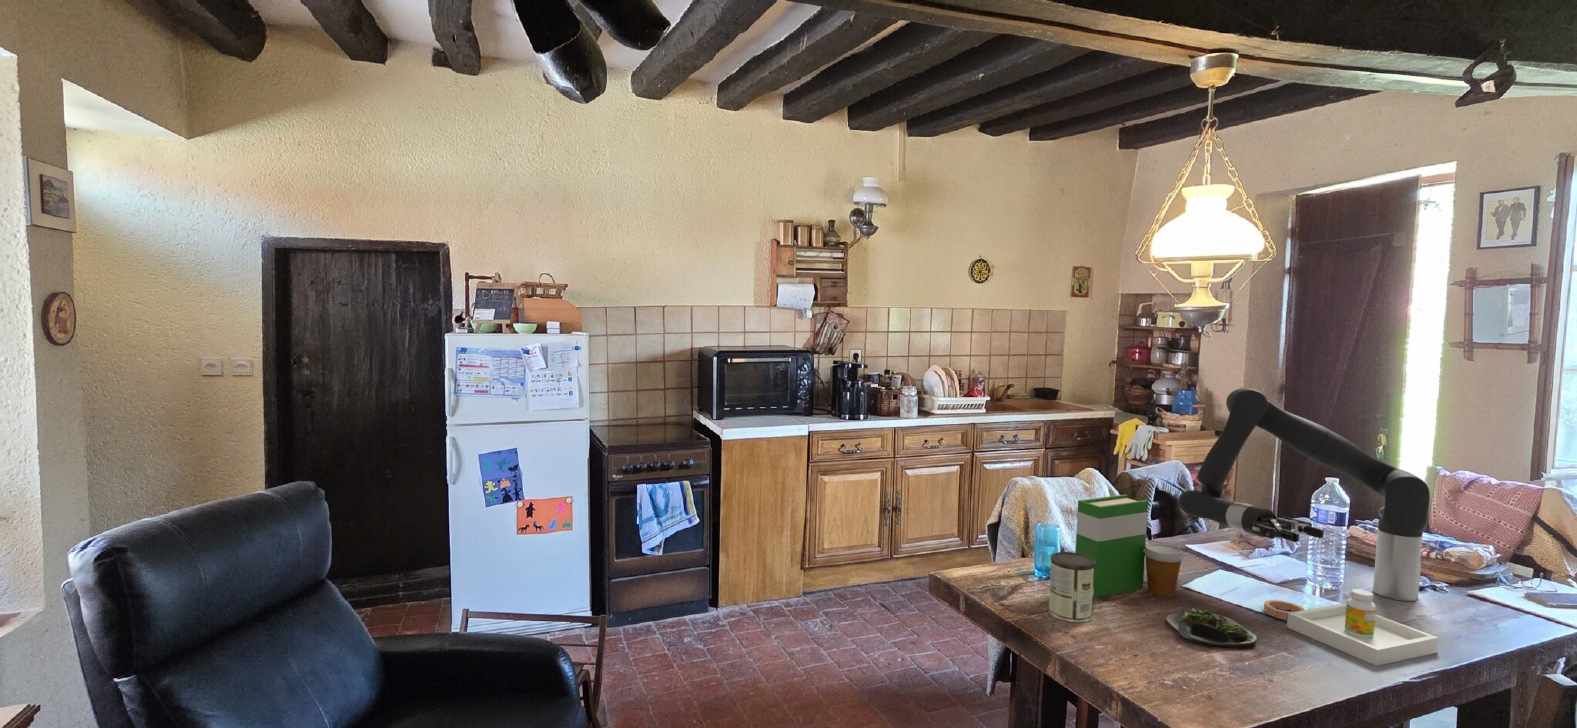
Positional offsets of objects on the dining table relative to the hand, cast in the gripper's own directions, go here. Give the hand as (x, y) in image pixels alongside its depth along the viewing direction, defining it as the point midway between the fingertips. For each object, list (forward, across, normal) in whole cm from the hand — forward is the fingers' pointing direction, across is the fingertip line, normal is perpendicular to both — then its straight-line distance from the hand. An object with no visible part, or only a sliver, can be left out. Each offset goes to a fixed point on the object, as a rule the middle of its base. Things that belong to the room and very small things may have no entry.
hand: (1310, 536), depth 186 cm
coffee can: (-19, -57, +19) cm, 63 cm away
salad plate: (0, -33, +20) cm, 39 cm away
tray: (+14, -2, +20) cm, 24 cm away
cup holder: (-2, -5, +20) cm, 21 cm away
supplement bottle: (+14, -2, +19) cm, 23 cm away
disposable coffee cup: (-22, -24, +19) cm, 38 cm away
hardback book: (-30, -35, +19) cm, 49 cm away
